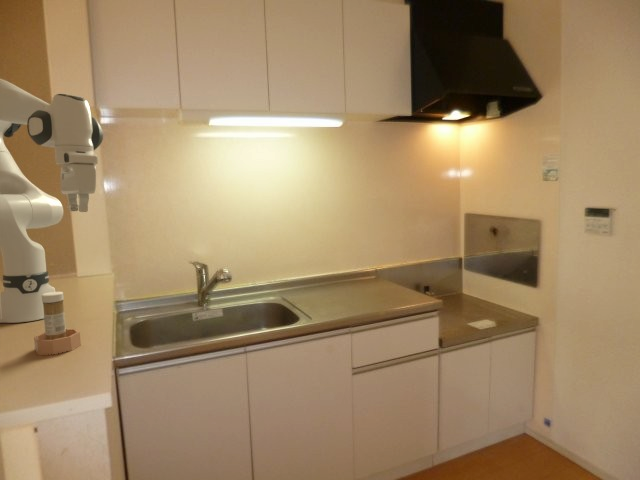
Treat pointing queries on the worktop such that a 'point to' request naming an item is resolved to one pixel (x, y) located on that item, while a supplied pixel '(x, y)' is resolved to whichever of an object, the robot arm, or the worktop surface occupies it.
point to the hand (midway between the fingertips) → (78, 211)
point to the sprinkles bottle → (54, 315)
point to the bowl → (57, 343)
